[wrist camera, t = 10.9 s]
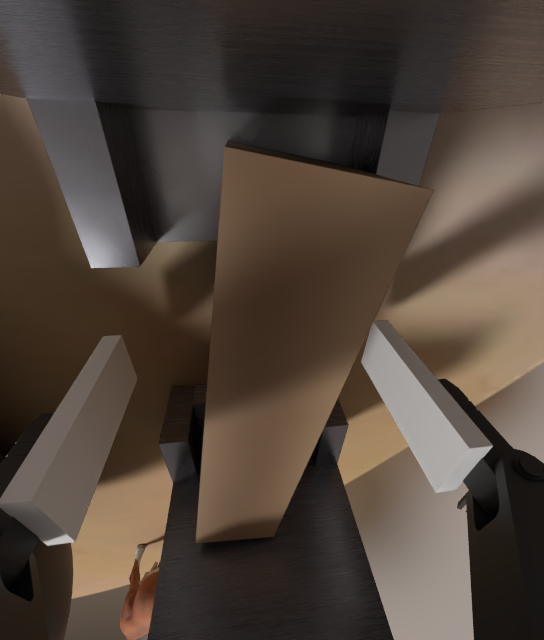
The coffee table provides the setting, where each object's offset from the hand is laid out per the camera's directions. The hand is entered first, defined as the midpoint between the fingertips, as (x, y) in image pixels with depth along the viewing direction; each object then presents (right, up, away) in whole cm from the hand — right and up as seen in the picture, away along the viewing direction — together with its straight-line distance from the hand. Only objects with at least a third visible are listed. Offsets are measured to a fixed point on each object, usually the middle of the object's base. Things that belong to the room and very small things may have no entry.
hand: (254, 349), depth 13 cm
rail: (0, 0, +1) cm, 1 cm away
